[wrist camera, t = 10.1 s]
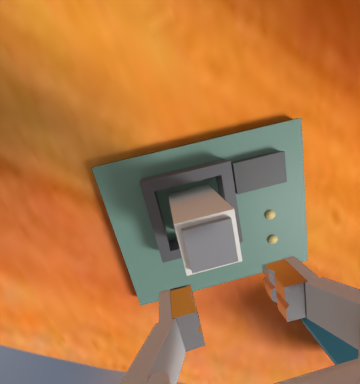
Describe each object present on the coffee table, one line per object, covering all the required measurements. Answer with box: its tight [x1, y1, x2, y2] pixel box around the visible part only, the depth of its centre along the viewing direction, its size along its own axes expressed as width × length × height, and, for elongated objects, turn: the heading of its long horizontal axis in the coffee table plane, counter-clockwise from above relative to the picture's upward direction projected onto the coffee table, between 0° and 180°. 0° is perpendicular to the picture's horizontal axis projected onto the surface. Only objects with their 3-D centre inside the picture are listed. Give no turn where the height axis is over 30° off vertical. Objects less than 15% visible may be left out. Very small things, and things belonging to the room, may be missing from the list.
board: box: [92, 118, 308, 305], centre depth 20 cm, size 20×16×3 cm
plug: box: [168, 184, 242, 276], centre depth 16 cm, size 4×4×7 cm
